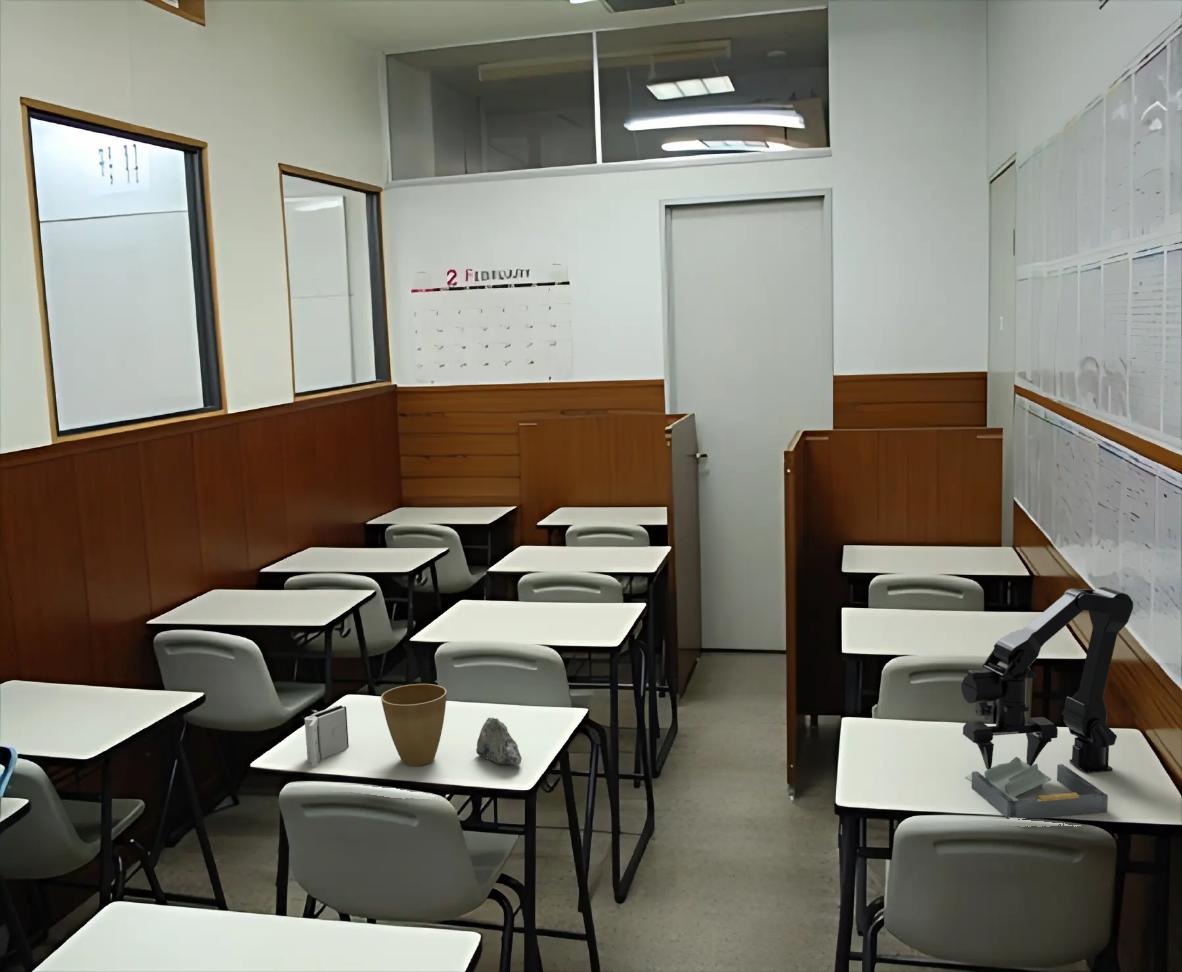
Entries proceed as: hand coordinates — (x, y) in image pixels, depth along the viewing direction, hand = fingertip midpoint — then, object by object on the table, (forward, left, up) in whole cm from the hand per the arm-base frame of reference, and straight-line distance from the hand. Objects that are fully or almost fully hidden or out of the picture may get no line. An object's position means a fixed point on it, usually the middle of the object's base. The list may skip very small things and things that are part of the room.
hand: (1008, 768), depth 235 cm
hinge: (+147, -43, -2) cm, 153 cm away
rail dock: (0, +11, -2) cm, 11 cm away
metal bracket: (+2, +5, -3) cm, 6 cm away
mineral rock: (+107, -31, -2) cm, 112 cm away
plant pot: (+126, -36, -2) cm, 131 cm away
